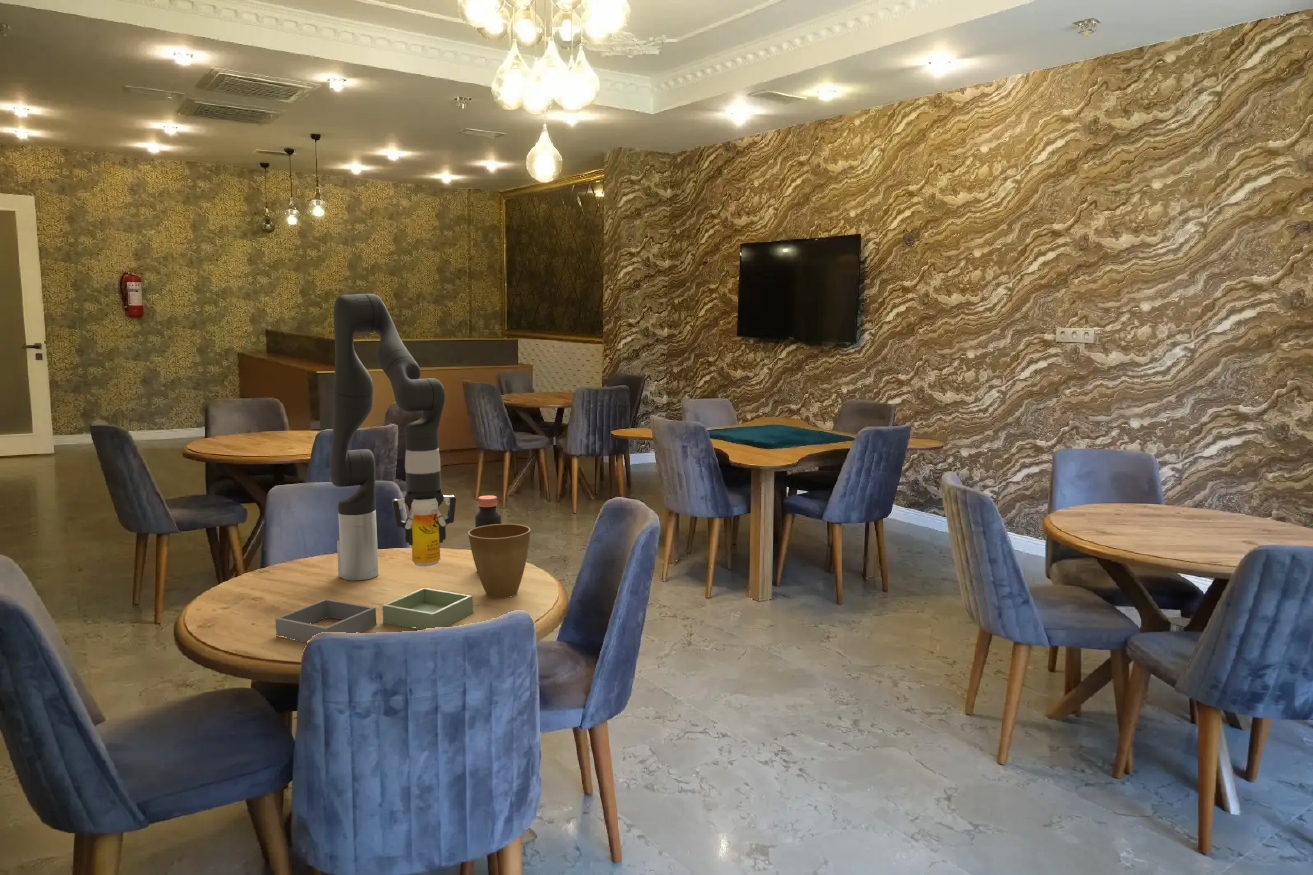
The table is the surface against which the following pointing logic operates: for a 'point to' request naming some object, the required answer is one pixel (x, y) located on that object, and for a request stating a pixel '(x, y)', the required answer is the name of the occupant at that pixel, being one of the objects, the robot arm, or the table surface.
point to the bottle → (487, 511)
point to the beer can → (425, 532)
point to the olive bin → (427, 609)
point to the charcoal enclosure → (350, 614)
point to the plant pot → (500, 557)
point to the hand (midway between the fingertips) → (425, 542)
